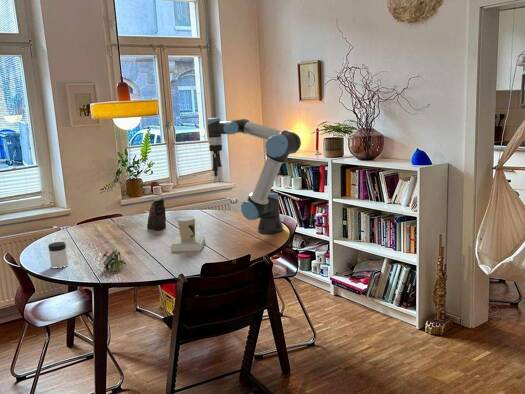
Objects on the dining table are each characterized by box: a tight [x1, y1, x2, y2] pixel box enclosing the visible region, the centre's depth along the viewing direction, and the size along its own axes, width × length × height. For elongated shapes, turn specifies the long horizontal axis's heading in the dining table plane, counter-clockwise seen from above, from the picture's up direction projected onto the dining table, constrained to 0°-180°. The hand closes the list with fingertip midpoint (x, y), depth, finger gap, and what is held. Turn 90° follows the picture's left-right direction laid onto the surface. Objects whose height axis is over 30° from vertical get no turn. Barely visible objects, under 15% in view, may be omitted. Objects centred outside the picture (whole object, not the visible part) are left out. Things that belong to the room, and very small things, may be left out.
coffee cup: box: [177, 216, 196, 242], centre depth 278 cm, size 9×9×12 cm
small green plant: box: [102, 249, 127, 273], centre depth 249 cm, size 11×11×12 cm
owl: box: [146, 195, 167, 232], centre depth 320 cm, size 13×13×20 cm
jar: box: [48, 241, 69, 268], centre depth 257 cm, size 9×8×12 cm
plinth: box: [170, 235, 206, 253], centre depth 280 cm, size 16×16×4 cm
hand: (218, 179), depth 303 cm, fingers open, 13 cm apart
